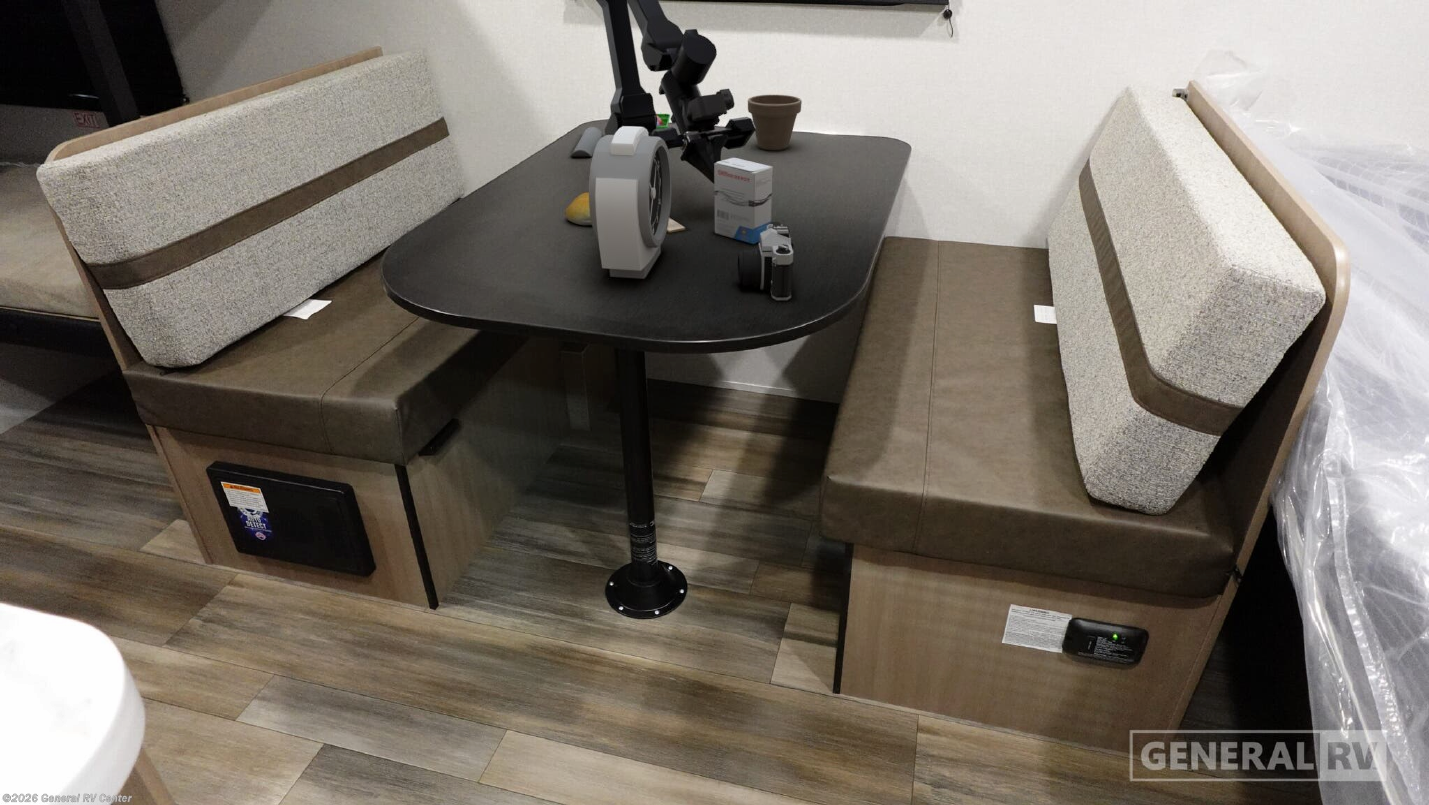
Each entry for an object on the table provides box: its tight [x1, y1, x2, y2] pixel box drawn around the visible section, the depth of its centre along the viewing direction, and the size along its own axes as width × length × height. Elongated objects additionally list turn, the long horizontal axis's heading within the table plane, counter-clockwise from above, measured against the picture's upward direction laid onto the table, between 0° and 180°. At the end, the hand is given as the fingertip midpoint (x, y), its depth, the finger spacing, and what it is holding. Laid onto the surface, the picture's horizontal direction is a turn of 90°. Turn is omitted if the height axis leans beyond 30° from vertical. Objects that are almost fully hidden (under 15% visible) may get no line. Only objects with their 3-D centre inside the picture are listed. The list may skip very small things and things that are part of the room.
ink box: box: [713, 157, 773, 245], centre depth 141 cm, size 8×5×12 cm, turn 48°
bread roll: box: [565, 191, 592, 226], centre depth 151 cm, size 8×9×4 cm
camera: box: [737, 221, 795, 301], centre depth 125 cm, size 13×8×9 cm, turn 5°
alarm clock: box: [588, 126, 673, 280], centre depth 129 cm, size 18×8×20 cm, turn 170°
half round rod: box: [571, 126, 603, 158], centre depth 192 cm, size 4×20×2 cm, turn 179°
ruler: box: [666, 217, 686, 234], centre depth 152 cm, size 16×3×1 cm, turn 29°
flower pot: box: [747, 94, 803, 151], centre depth 189 cm, size 12×11×10 cm
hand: (718, 183), depth 146 cm, fingers closed
